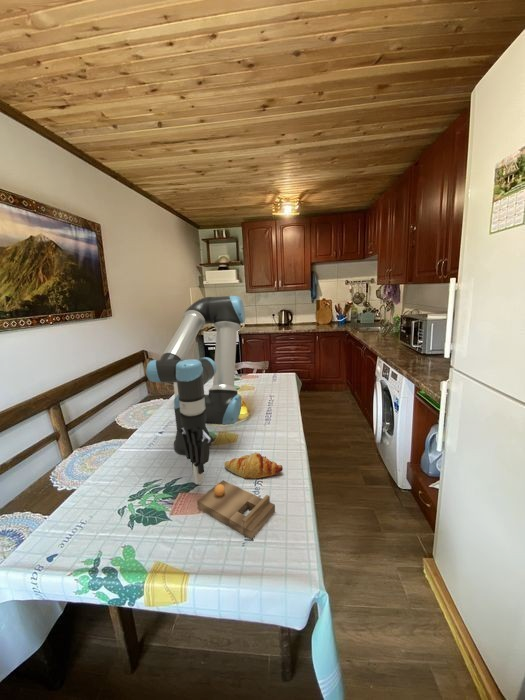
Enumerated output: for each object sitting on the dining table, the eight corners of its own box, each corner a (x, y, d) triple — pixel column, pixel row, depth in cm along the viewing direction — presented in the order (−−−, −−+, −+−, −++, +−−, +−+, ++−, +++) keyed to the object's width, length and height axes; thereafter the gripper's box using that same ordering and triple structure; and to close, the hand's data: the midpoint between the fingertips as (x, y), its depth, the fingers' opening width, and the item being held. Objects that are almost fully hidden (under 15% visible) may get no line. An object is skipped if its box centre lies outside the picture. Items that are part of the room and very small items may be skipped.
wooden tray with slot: (197, 508, 84) (196, 494, 83) (223, 487, 93) (222, 474, 92) (251, 539, 72) (250, 524, 71) (275, 512, 81) (274, 498, 80)
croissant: (223, 482, 101) (217, 470, 96) (229, 456, 108) (225, 444, 103) (282, 487, 96) (279, 475, 91) (285, 459, 104) (282, 447, 99)
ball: (212, 495, 85) (211, 486, 84) (219, 489, 88) (219, 480, 87) (220, 500, 83) (219, 490, 83) (227, 493, 86) (227, 484, 85)
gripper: (169, 411, 86) (176, 480, 91) (198, 420, 79) (204, 495, 83) (188, 403, 92) (194, 468, 97) (217, 411, 85) (222, 481, 89)
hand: (199, 480), depth 90 cm, fingers closed
